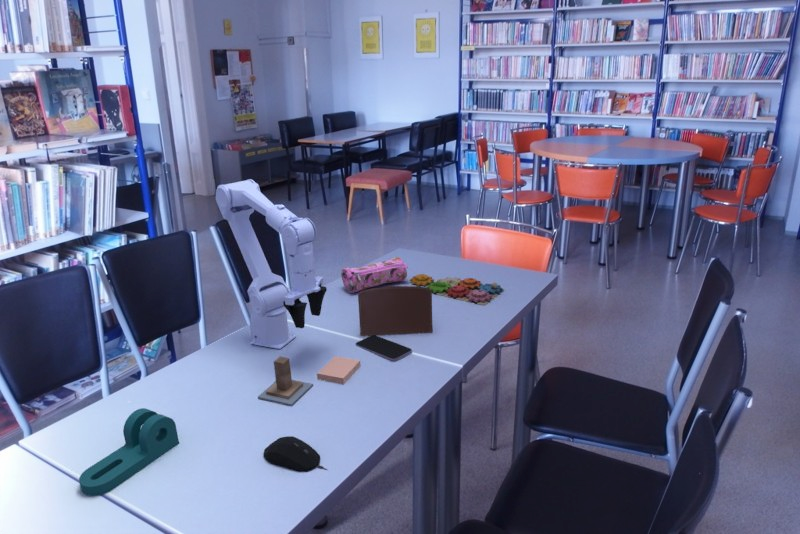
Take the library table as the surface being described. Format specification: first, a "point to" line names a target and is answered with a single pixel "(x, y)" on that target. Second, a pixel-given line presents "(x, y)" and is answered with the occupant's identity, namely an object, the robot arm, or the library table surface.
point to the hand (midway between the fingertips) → (308, 321)
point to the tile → (338, 369)
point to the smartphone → (384, 348)
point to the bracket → (131, 452)
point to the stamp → (283, 380)
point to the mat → (282, 400)
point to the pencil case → (374, 274)
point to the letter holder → (395, 310)
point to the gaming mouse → (292, 454)
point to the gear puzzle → (460, 288)
